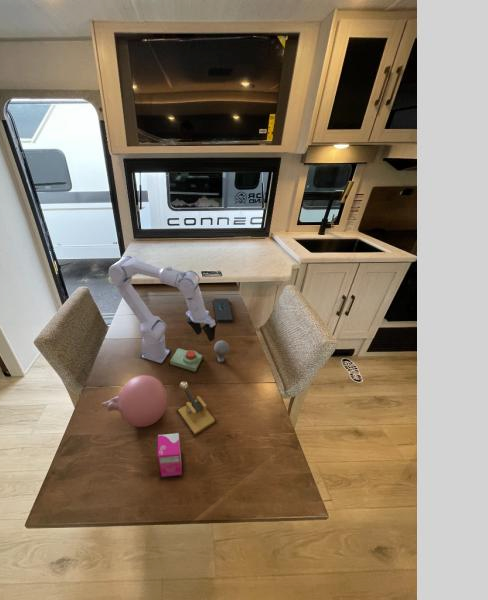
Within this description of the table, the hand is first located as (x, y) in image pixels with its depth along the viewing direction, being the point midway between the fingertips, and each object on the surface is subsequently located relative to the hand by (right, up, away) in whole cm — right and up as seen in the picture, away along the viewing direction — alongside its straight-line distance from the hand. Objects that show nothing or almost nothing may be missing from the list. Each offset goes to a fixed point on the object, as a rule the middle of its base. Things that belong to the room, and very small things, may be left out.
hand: (205, 336), depth 98 cm
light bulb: (+7, -12, +12) cm, 18 cm away
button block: (-7, -12, +11) cm, 18 cm away
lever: (-6, -19, -10) cm, 22 cm away
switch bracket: (-4, -25, -10) cm, 28 cm away
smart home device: (+11, +8, +43) cm, 45 cm away
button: (-6, -9, +9) cm, 14 cm away
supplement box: (-11, -34, -23) cm, 42 cm away
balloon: (-23, -25, -10) cm, 36 cm away
